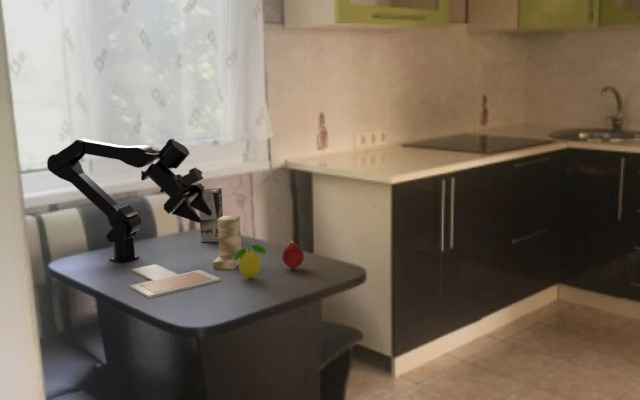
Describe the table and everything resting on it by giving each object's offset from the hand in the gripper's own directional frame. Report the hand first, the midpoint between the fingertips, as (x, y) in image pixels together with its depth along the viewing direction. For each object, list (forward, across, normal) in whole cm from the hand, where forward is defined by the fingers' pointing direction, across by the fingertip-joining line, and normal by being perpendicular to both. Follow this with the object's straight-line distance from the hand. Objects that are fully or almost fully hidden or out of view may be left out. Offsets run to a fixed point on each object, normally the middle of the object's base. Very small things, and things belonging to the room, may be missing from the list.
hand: (205, 218), depth 191 cm
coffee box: (+4, +26, +15) cm, 30 cm away
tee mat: (+4, -17, +14) cm, 22 cm away
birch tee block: (+14, 0, +4) cm, 14 cm away
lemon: (+21, -16, -3) cm, 27 cm away
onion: (+28, -6, -10) cm, 30 cm away
